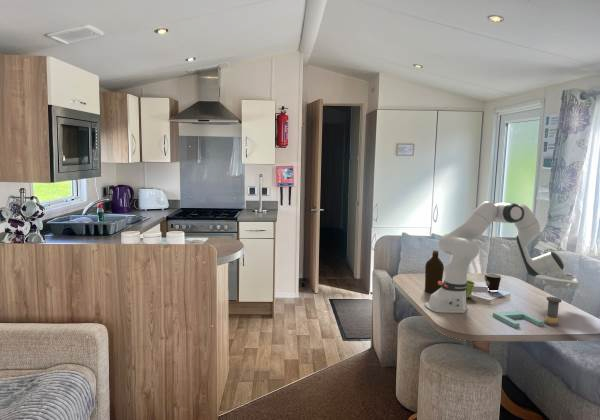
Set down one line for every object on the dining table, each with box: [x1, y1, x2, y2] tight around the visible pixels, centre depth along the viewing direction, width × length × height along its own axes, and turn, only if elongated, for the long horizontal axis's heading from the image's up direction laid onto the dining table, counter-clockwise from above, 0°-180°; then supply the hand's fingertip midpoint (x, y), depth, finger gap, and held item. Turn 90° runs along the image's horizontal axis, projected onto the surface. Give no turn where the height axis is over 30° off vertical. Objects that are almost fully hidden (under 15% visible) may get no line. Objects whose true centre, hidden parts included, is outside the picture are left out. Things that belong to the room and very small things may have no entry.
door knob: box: [543, 296, 562, 328], centre depth 227 cm, size 6×6×13 cm
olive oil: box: [424, 249, 445, 294], centre depth 275 cm, size 11×11×25 cm
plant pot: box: [466, 280, 476, 299], centre depth 268 cm, size 9×9×9 cm
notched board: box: [492, 310, 545, 329], centre depth 231 cm, size 17×16×2 cm
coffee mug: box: [484, 273, 502, 291], centre depth 282 cm, size 12×9×10 cm
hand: (555, 285), depth 235 cm, fingers open, 8 cm apart
